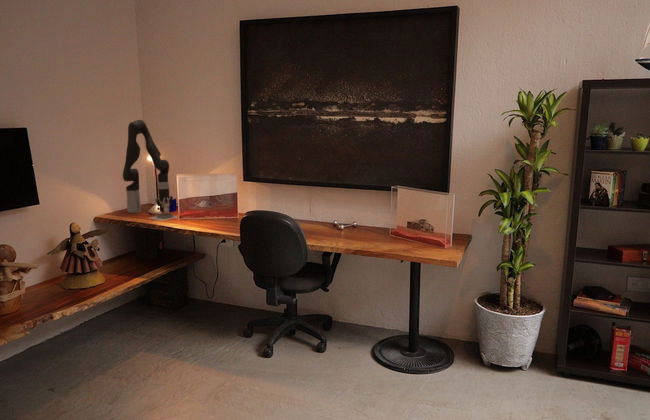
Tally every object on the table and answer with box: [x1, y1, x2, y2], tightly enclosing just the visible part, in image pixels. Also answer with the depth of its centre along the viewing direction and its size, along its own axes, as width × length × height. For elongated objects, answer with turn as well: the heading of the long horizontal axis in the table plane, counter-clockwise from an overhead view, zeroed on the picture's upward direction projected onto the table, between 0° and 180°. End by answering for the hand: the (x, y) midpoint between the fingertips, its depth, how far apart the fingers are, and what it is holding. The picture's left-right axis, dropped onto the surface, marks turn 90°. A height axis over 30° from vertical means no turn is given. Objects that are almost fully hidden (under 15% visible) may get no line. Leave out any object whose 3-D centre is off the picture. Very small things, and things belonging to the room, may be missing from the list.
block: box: [160, 203, 170, 214], centre depth 377 cm, size 4×4×7 cm
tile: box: [156, 213, 174, 219], centre depth 379 cm, size 2×8×9 cm
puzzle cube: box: [159, 197, 178, 213], centre depth 400 cm, size 10×10×10 cm
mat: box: [148, 215, 178, 222], centre depth 378 cm, size 16×16×1 cm
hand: (165, 211), depth 377 cm, fingers closed on block, 4 cm apart
